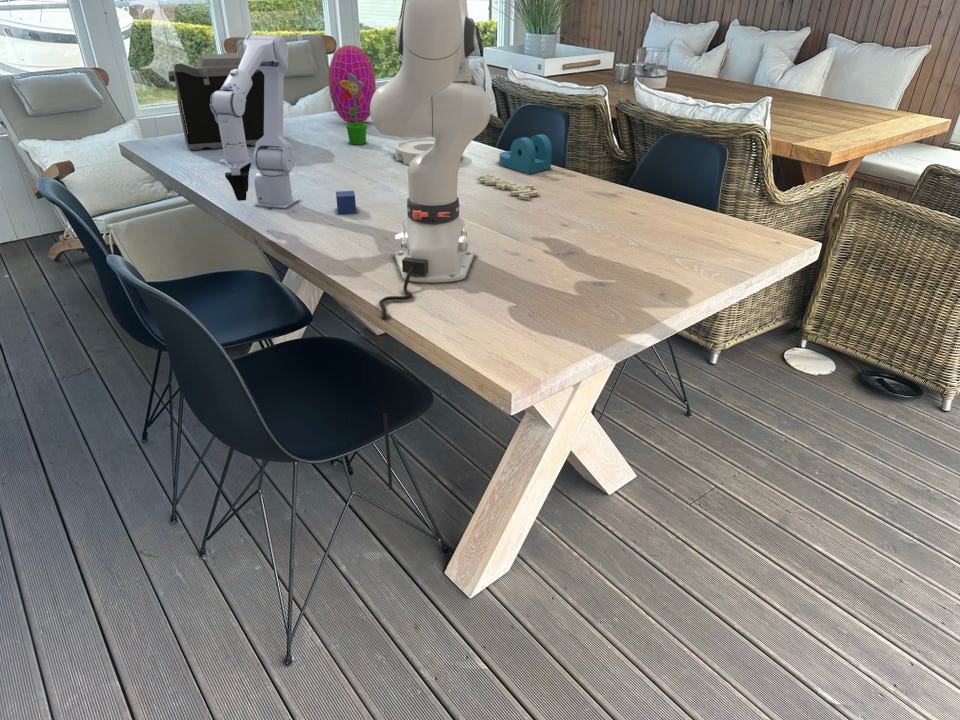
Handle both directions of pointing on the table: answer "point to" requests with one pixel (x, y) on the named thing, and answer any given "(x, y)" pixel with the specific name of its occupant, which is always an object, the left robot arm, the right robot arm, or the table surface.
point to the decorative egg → (340, 66)
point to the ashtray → (412, 149)
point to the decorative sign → (509, 186)
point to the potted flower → (354, 129)
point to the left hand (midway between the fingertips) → (242, 195)
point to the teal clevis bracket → (528, 154)
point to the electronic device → (197, 94)
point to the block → (346, 202)
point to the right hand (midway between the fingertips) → (452, 127)
